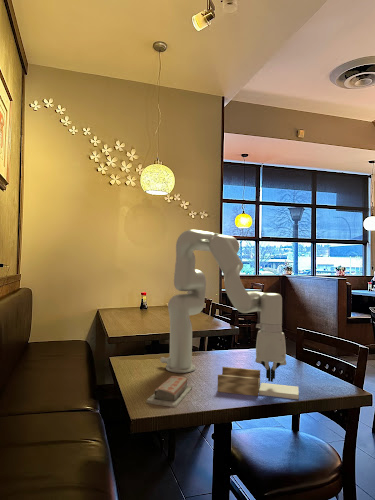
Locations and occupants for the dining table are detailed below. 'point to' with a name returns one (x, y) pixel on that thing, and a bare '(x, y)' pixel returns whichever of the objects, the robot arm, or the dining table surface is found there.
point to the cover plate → (279, 390)
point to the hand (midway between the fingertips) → (270, 380)
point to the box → (239, 381)
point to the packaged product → (170, 392)
